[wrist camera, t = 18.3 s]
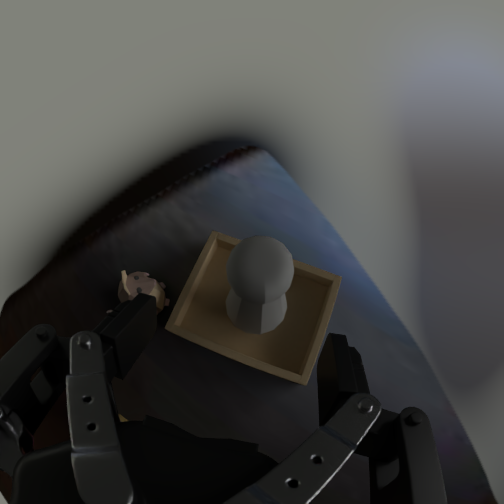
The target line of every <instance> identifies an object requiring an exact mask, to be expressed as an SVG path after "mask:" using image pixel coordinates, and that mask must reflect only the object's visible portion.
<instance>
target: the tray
mask: <svg viewBox="0 0 504 504" xmlns="http://www.w3.org/2000/svg"><path fill="white" fill-rule="evenodd" d="M240 242H241V240H238V239H236V238H233V237H230V236H227V235H225V234H222V233H219V232H216V231H212V233H211V235H210V237H209V239H208V241H207V242H206V244H205V246H204V248H203V250H202V252H201V254H200V256H199V258H198V260H197V262H196V264H195V266H194V268H193V270H192V272H191V274H190V276H189V278H188V280H187V282H186V284H185V286H184V288H183V290H182V292H181V294H180V296H179V299H178V301H177V303H176V305H175V307H174V309H173V311H172V313H171V315H170V317H169V320H168V322H167V324H166V326H165V329H166V330H168V331H170V332H172V333H174V334H176V335H178V336H180V337H182V338H184V339H186V340H189V341H191V342H193V343H195V344H197V345H200V346H202V347H204V348H206V349H209V350H211V351H213V352H215V353H218V354H220V355H223V356H225V357H227V358H230V359H232V360H235V361H237V362H240V363H242V364H245V365H247V366H250V367H253V368H255V369H258V370H260V371H263V372H266V373H269V374H271V375H274V376H277V377H280V378H283V379H286V380H289V381H292V382H295V383H298V384H301V385H305V386H306V385H307V382H308V380H309V377H310V374H311V372H312V369H313V366H314V364H315V361H316V358H317V355H318V352H319V350H320V347H321V344H322V341H323V338H324V335H325V332H326V329H327V326H328V323H329V319H330V316H331V313H332V310H333V307H334V303H335V300H336V296H337V293H338V290H339V286H340V283H341V279H342V277H340V276H338V275H335V274H332V273H329V272H327V271H324V270H321V269H318V268H316V267H313V266H310V265H308V264H305V263H302V262H299V261H297V260H294V259H292V260H293V266H294V275H293V279H292V282H291V286H290V287H289V289H288V290H287V291H286V292H285V296H286V302H287V309H286V313H285V316H284V319H283V321H282V322H281V323H280V324H279V325H278V326H277V327H276V328H275V329H274V330H272V331H269V332H266V333H264V334H261V335H259V334H250V333H245V332H244V331H242V330H240V329H239V328H237V327H235V326H234V325H233V323H232V321H231V320H230V318H229V317H228V315H227V309H226V299H227V296H228V294H229V291H230V289H231V286H230V284H229V282H228V280H227V271H226V264H227V261H228V258H229V256H230V253H231V251H232V249H233V248H234V247H235V246H236V245H237V244H238V243H240Z"/></svg>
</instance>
